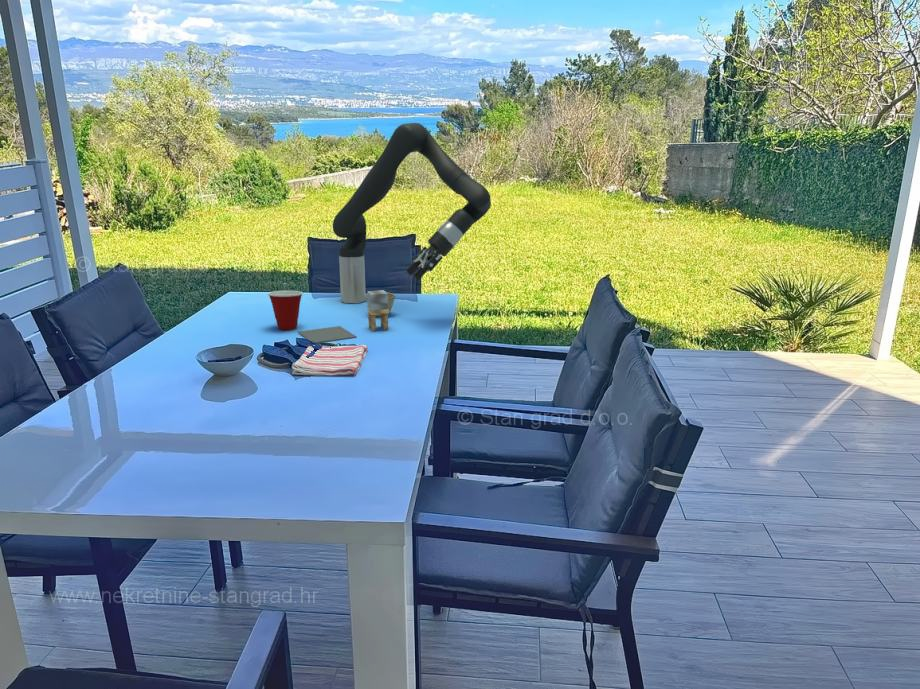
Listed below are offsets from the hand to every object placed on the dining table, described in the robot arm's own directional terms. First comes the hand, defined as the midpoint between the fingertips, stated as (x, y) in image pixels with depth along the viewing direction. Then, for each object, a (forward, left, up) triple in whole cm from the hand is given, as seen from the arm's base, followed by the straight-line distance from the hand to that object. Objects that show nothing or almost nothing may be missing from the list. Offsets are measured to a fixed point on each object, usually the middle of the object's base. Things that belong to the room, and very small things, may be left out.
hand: (412, 275), depth 214 cm
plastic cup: (-17, -36, -17) cm, 43 cm away
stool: (-2, -11, -17) cm, 20 cm away
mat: (-3, -28, -17) cm, 33 cm away
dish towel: (+23, -36, -17) cm, 46 cm away
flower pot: (-18, -3, -17) cm, 25 cm away
